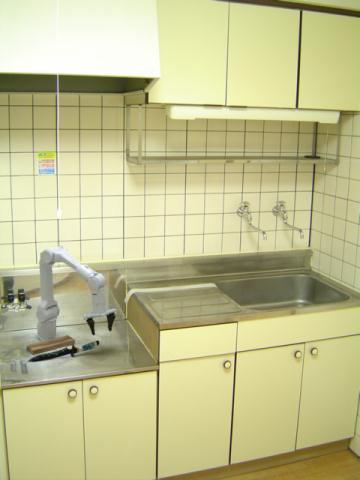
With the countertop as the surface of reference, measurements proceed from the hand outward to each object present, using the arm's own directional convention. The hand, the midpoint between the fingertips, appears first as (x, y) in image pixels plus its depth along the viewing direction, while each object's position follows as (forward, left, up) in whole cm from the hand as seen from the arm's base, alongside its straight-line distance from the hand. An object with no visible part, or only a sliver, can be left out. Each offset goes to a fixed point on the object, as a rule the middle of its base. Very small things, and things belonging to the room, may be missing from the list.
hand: (101, 332), depth 233 cm
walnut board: (-19, -15, -10) cm, 26 cm away
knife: (-6, -15, -10) cm, 19 cm away
